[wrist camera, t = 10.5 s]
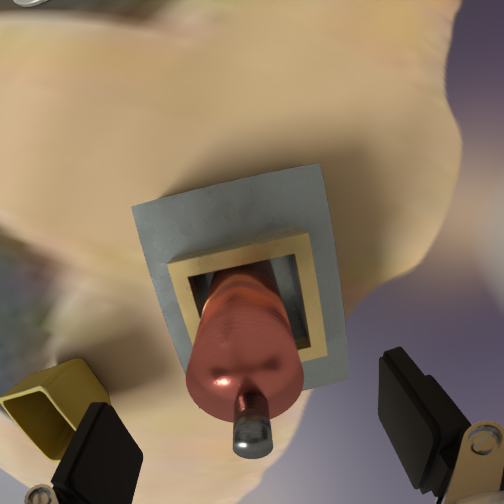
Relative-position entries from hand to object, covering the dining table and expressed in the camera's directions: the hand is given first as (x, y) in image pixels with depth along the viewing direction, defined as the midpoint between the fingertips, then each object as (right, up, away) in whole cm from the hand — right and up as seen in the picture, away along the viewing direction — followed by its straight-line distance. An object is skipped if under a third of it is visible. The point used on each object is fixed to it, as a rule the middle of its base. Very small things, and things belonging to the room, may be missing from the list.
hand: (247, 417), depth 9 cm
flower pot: (-19, -9, +20) cm, 28 cm away
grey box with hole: (0, +3, +17) cm, 17 cm away
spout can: (0, +4, +15) cm, 15 cm away
